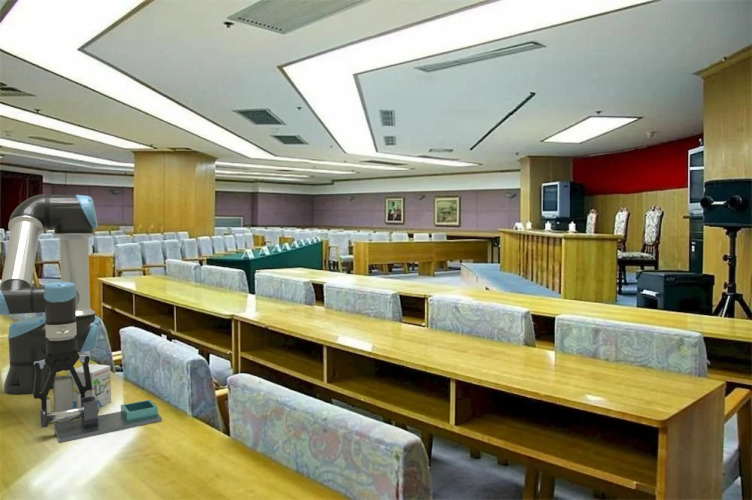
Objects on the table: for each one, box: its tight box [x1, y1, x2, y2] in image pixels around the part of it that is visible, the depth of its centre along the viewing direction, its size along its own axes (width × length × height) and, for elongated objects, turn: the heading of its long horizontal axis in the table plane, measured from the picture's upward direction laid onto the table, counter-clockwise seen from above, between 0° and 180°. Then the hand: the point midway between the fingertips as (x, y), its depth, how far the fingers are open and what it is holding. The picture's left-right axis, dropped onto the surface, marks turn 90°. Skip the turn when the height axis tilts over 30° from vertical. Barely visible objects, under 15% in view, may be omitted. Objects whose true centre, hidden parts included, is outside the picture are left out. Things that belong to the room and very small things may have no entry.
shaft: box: [39, 406, 100, 429], centre depth 143 cm, size 4×13×4 cm, turn 126°
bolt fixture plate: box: [53, 396, 163, 443], centre depth 149 cm, size 12×25×8 cm, turn 127°
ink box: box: [67, 363, 112, 409], centre depth 164 cm, size 8×8×12 cm
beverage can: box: [52, 375, 74, 424], centre depth 152 cm, size 5×5×12 cm
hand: (64, 418), depth 152 cm, fingers open, 7 cm apart
